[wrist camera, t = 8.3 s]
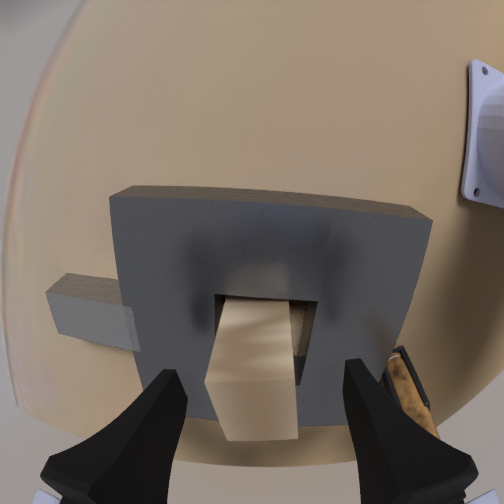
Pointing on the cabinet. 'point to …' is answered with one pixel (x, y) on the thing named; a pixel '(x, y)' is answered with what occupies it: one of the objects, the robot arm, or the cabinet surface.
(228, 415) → the oak wedge
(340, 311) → the steel bracket head
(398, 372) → the ammunition clip
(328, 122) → the cabinet surface
